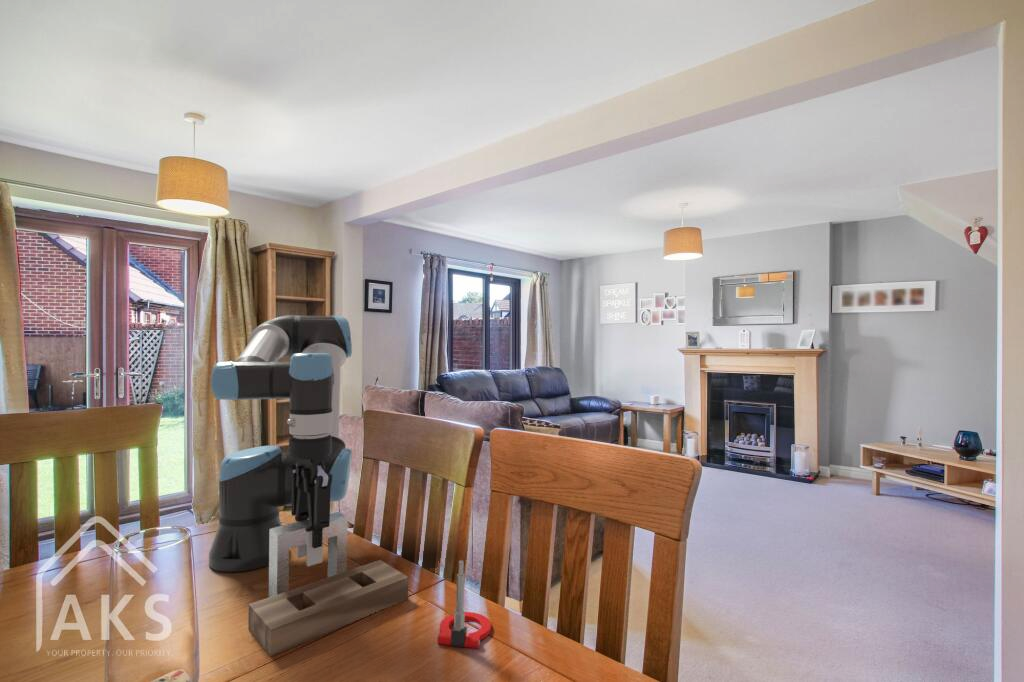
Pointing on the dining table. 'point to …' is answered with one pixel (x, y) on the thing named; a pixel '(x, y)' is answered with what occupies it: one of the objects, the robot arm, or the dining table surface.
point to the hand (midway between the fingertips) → (309, 559)
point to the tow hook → (462, 621)
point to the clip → (297, 536)
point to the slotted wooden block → (325, 605)
